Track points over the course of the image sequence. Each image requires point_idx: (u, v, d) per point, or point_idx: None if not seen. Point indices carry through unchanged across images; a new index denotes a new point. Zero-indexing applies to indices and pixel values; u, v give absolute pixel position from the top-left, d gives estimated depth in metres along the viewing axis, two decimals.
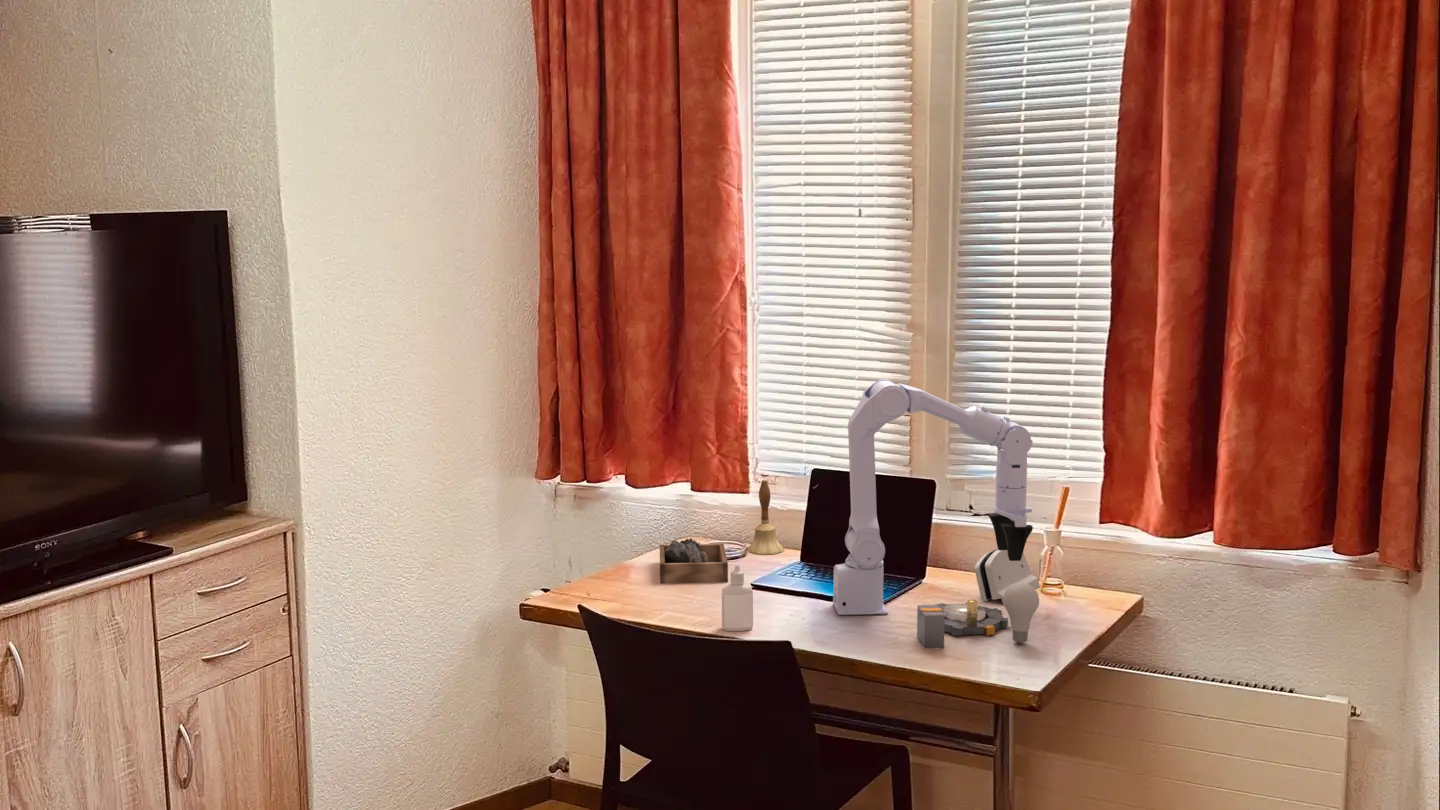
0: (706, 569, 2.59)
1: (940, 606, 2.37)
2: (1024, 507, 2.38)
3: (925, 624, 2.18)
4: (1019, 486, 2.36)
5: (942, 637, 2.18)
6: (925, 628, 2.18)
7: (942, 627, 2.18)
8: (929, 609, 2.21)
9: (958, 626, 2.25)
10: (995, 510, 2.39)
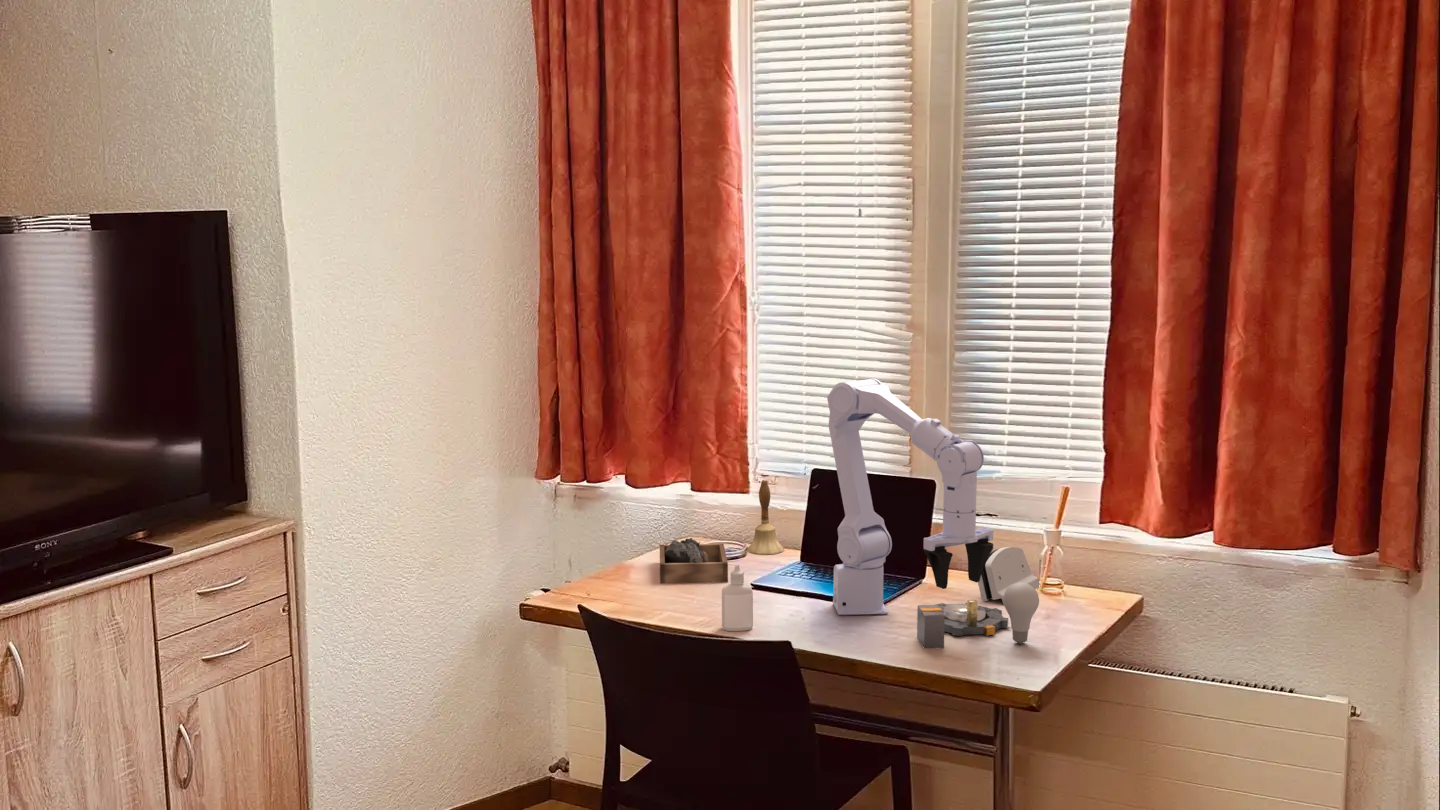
0: (706, 569, 2.59)
1: (940, 606, 2.37)
2: (959, 534, 2.20)
3: (925, 624, 2.18)
4: (954, 510, 2.20)
5: (942, 637, 2.18)
6: (925, 628, 2.18)
7: (942, 627, 2.18)
8: (929, 609, 2.21)
9: (958, 626, 2.25)
10: None
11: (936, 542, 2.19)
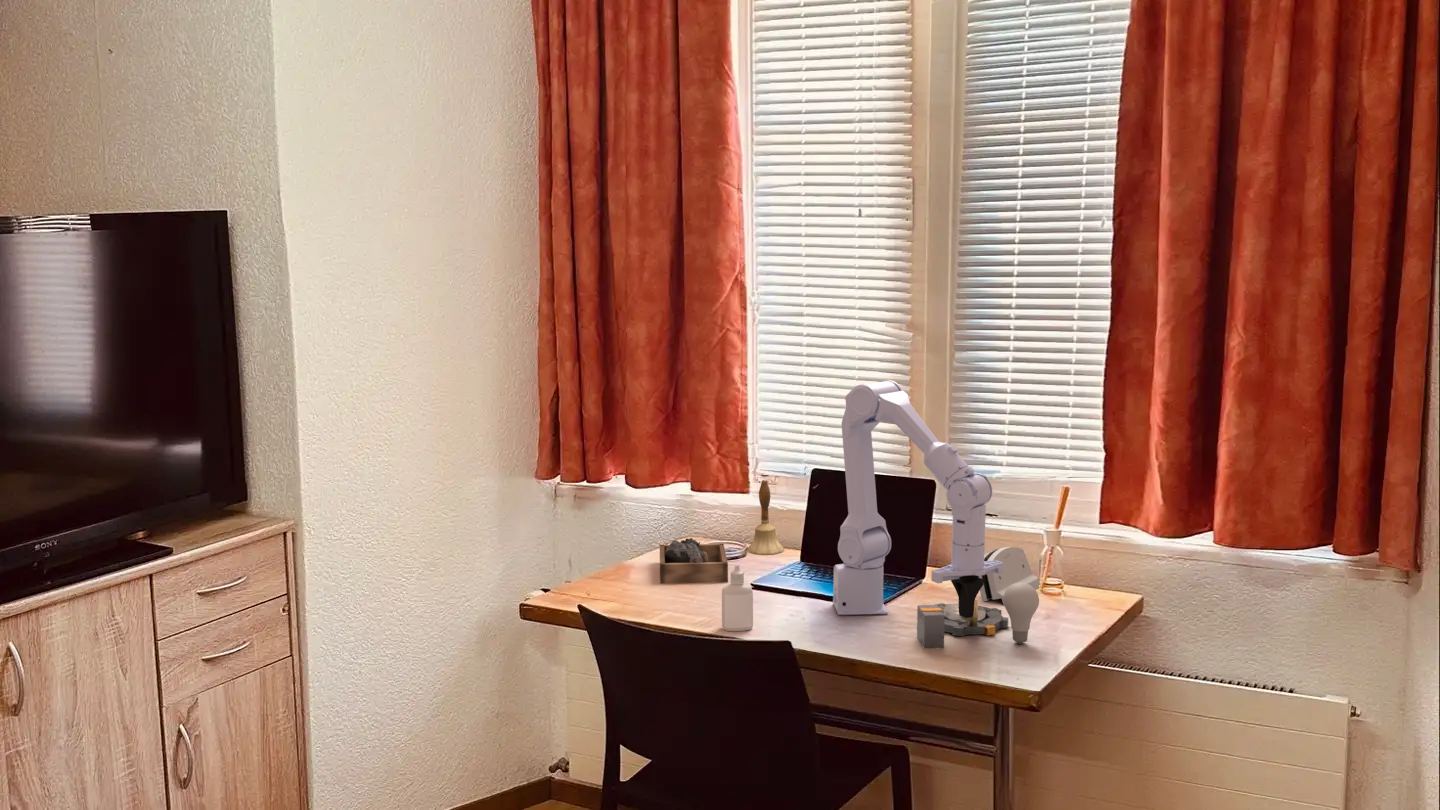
0: (706, 569, 2.59)
1: (940, 606, 2.37)
2: (967, 567, 2.21)
3: (925, 624, 2.18)
4: (964, 543, 2.21)
5: (942, 637, 2.18)
6: (925, 628, 2.18)
7: (942, 627, 2.18)
8: (929, 609, 2.21)
9: (959, 626, 2.25)
10: None
11: (944, 574, 2.20)
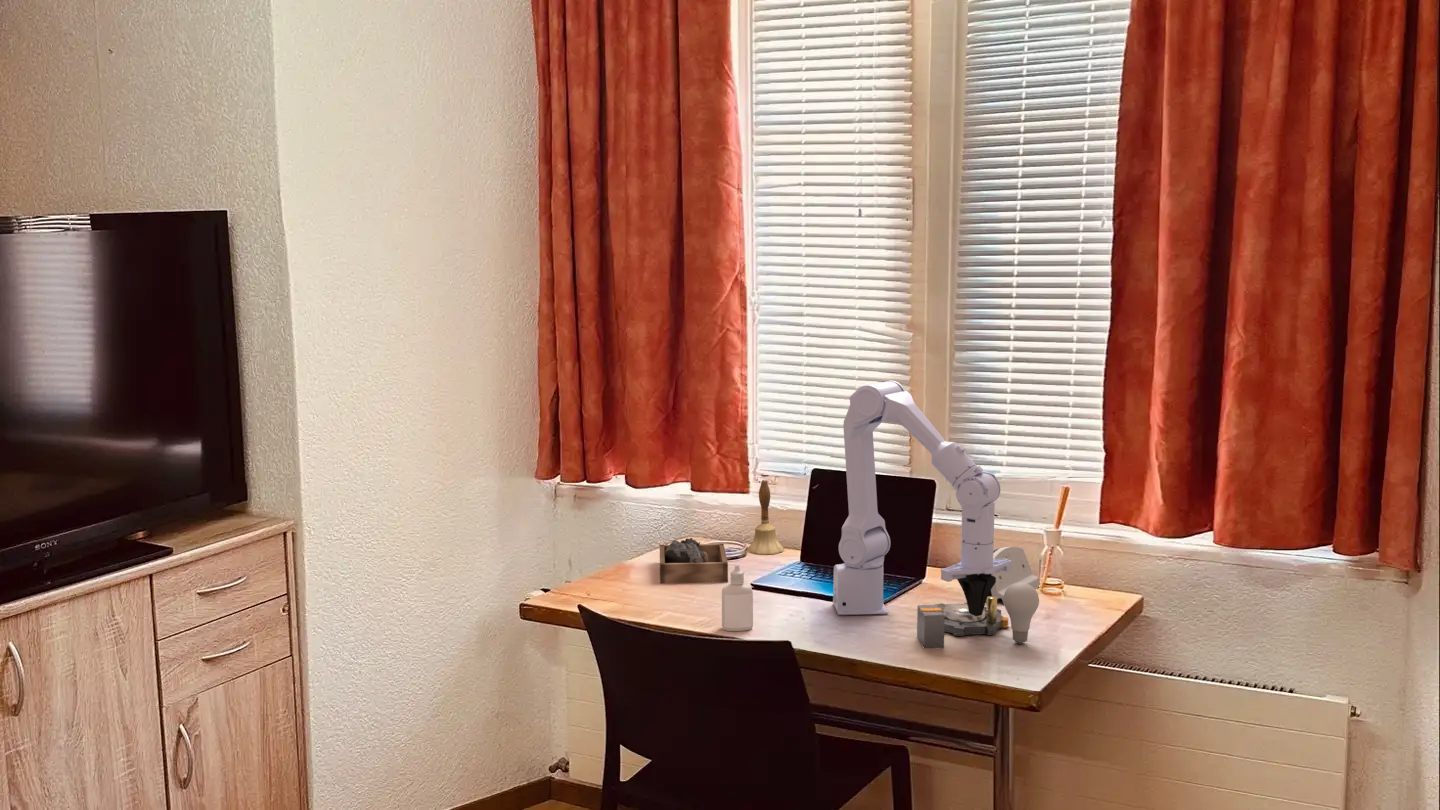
0: (706, 569, 2.59)
1: None
2: (976, 566, 2.22)
3: (925, 624, 2.18)
4: (974, 542, 2.22)
5: (942, 637, 2.18)
6: (925, 628, 2.18)
7: (942, 627, 2.18)
8: (929, 609, 2.21)
9: (988, 625, 2.26)
10: None
11: (953, 573, 2.21)
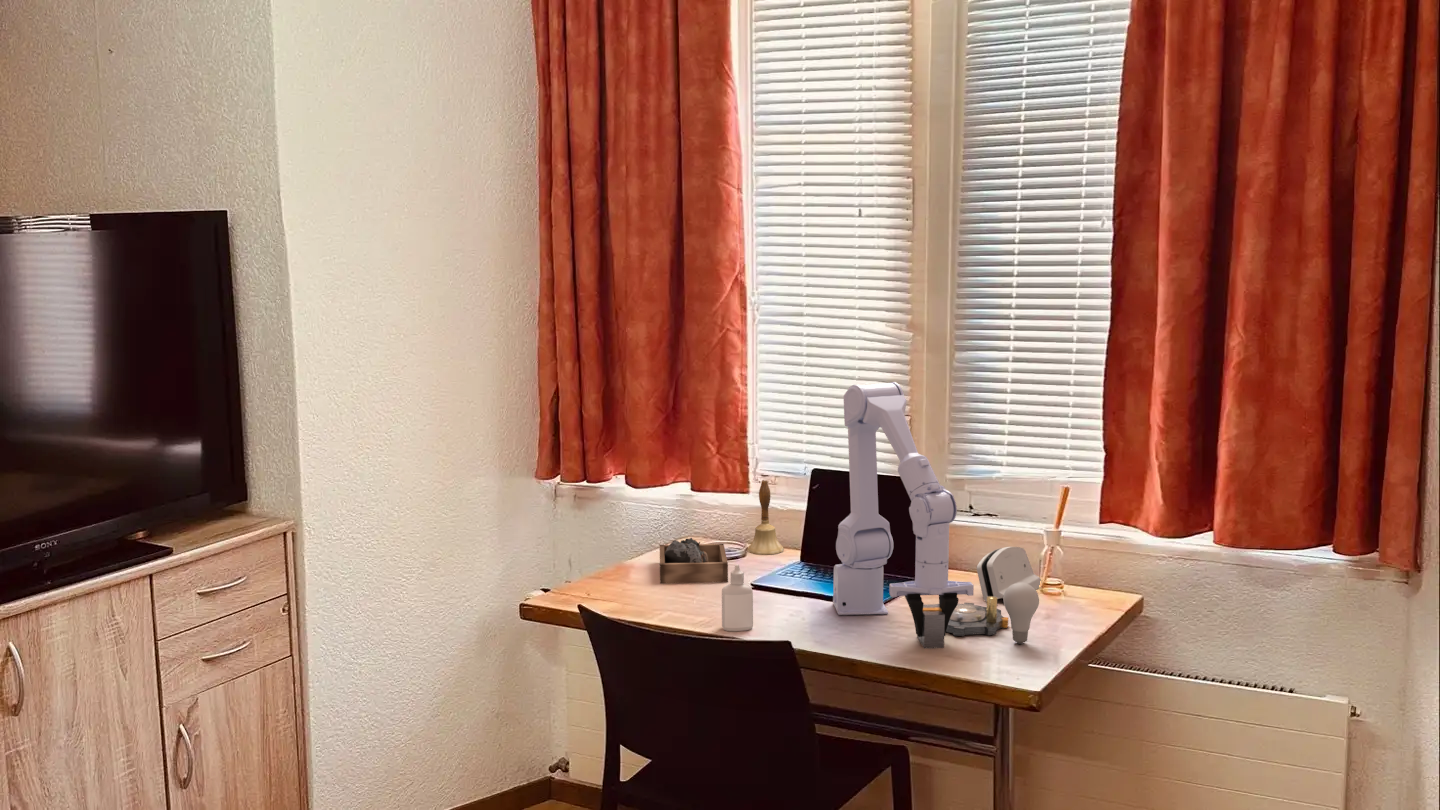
0: (706, 569, 2.59)
1: None
2: (923, 585, 2.18)
3: (925, 624, 2.18)
4: (921, 560, 2.17)
5: (942, 637, 2.18)
6: (925, 628, 2.18)
7: (942, 627, 2.18)
8: (929, 609, 2.21)
9: (988, 625, 2.26)
10: None
11: (898, 589, 2.19)
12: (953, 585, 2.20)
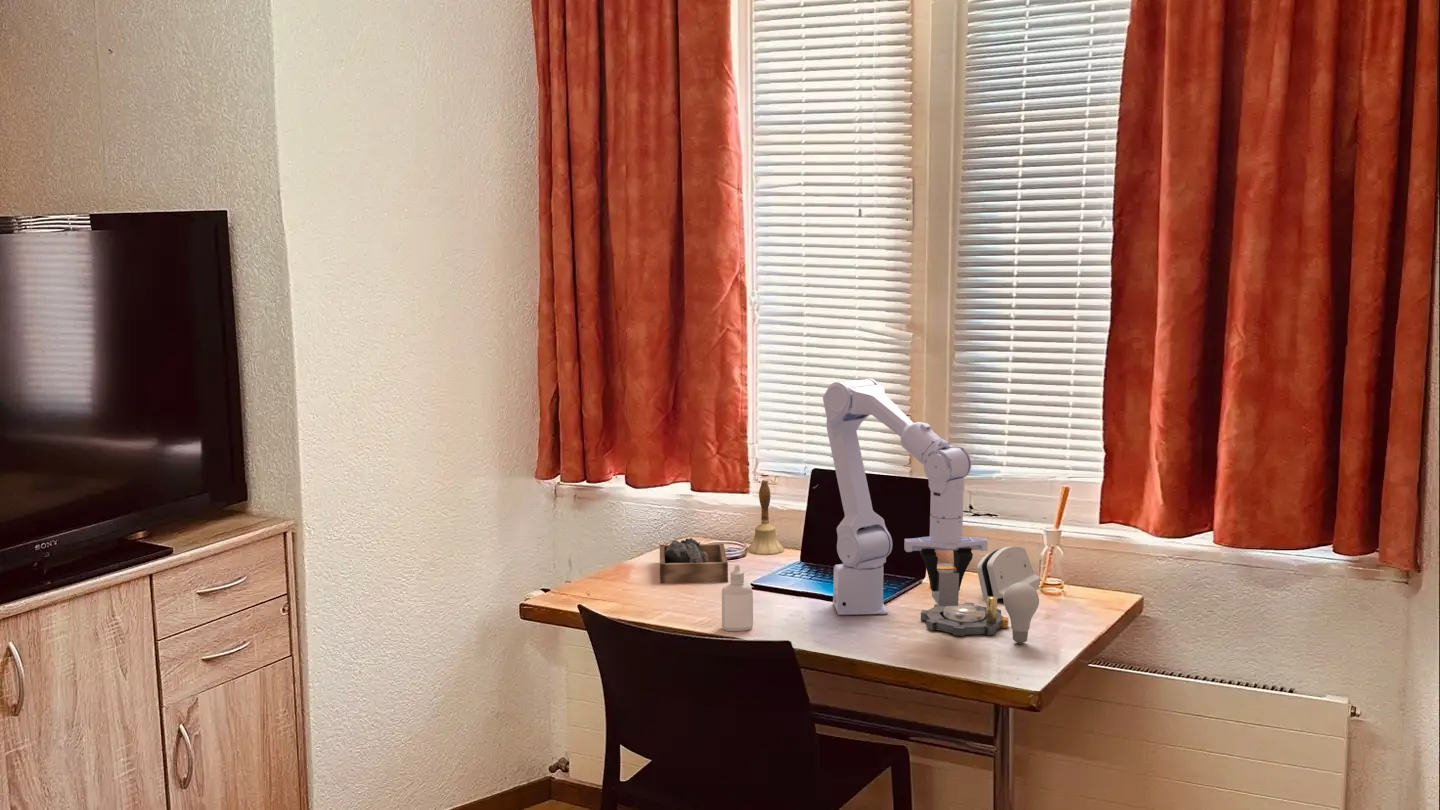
0: (706, 569, 2.59)
1: (929, 613, 2.33)
2: (938, 539, 2.21)
3: (940, 582, 2.21)
4: (939, 516, 2.20)
5: (956, 595, 2.21)
6: (939, 586, 2.21)
7: (956, 585, 2.21)
8: (944, 567, 2.23)
9: (988, 625, 2.26)
10: None
11: (913, 544, 2.22)
12: (967, 540, 2.23)
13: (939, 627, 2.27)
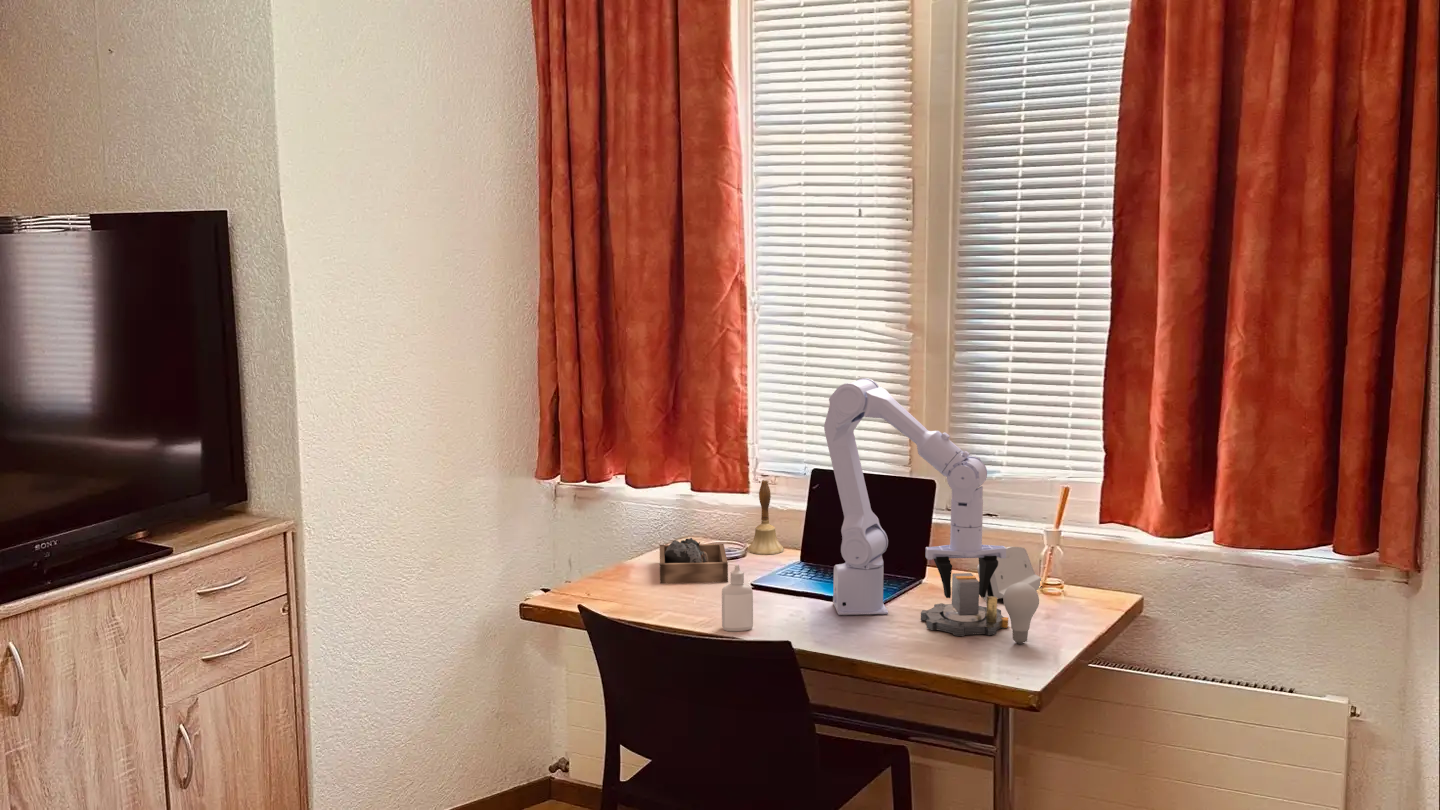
0: (706, 569, 2.59)
1: (929, 613, 2.33)
2: (958, 548, 2.28)
3: (960, 591, 2.27)
4: (966, 525, 2.26)
5: (977, 603, 2.28)
6: (960, 595, 2.28)
7: (977, 594, 2.28)
8: (964, 577, 2.30)
9: (988, 625, 2.26)
10: None
11: (934, 552, 2.29)
12: (986, 548, 2.30)
13: (939, 627, 2.27)
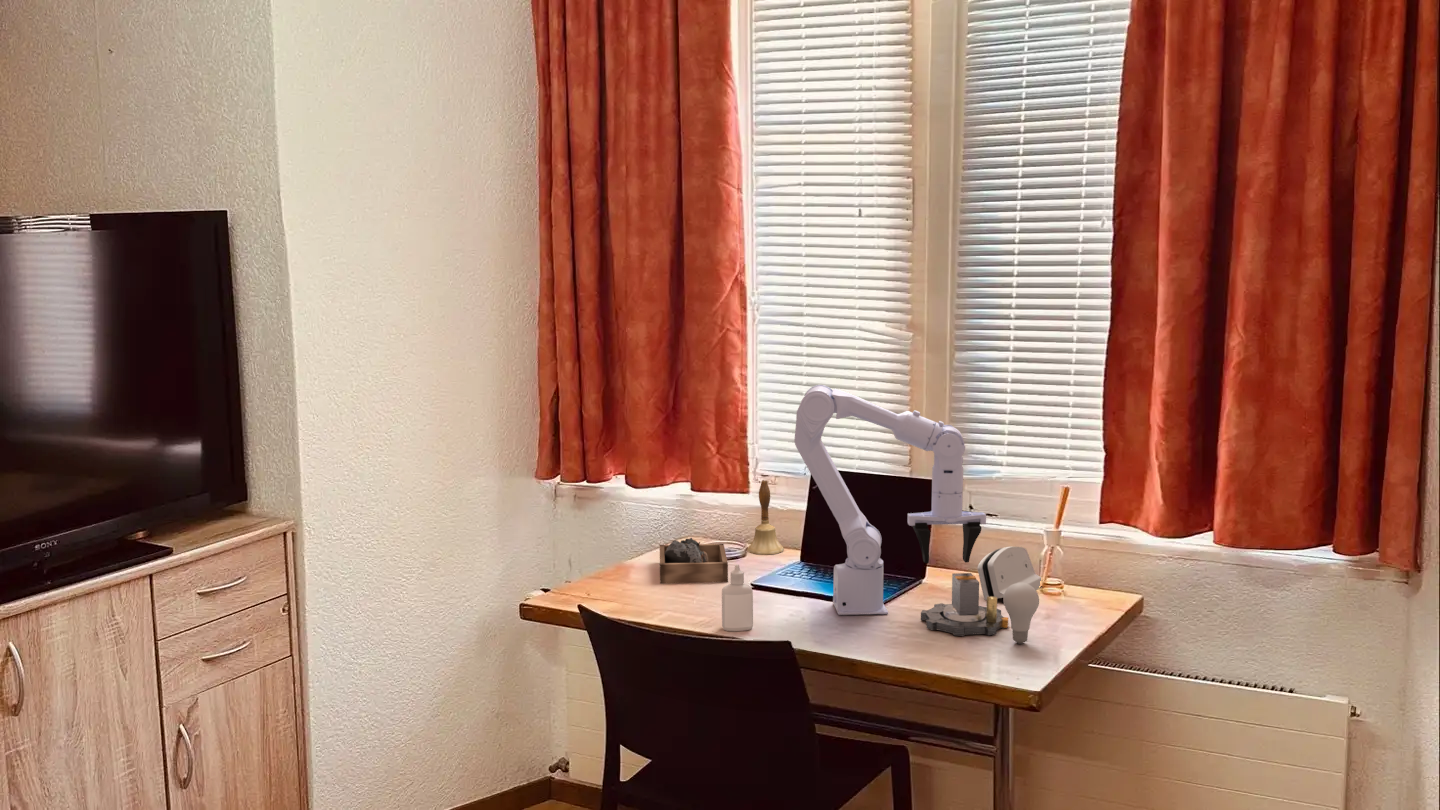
0: (706, 569, 2.59)
1: (929, 613, 2.33)
2: (939, 514, 2.34)
3: (960, 591, 2.27)
4: (952, 492, 2.32)
5: (977, 603, 2.28)
6: (960, 595, 2.28)
7: (977, 594, 2.28)
8: (964, 577, 2.30)
9: (988, 625, 2.26)
10: None
11: (916, 518, 2.35)
12: (967, 515, 2.36)
13: (939, 627, 2.27)
